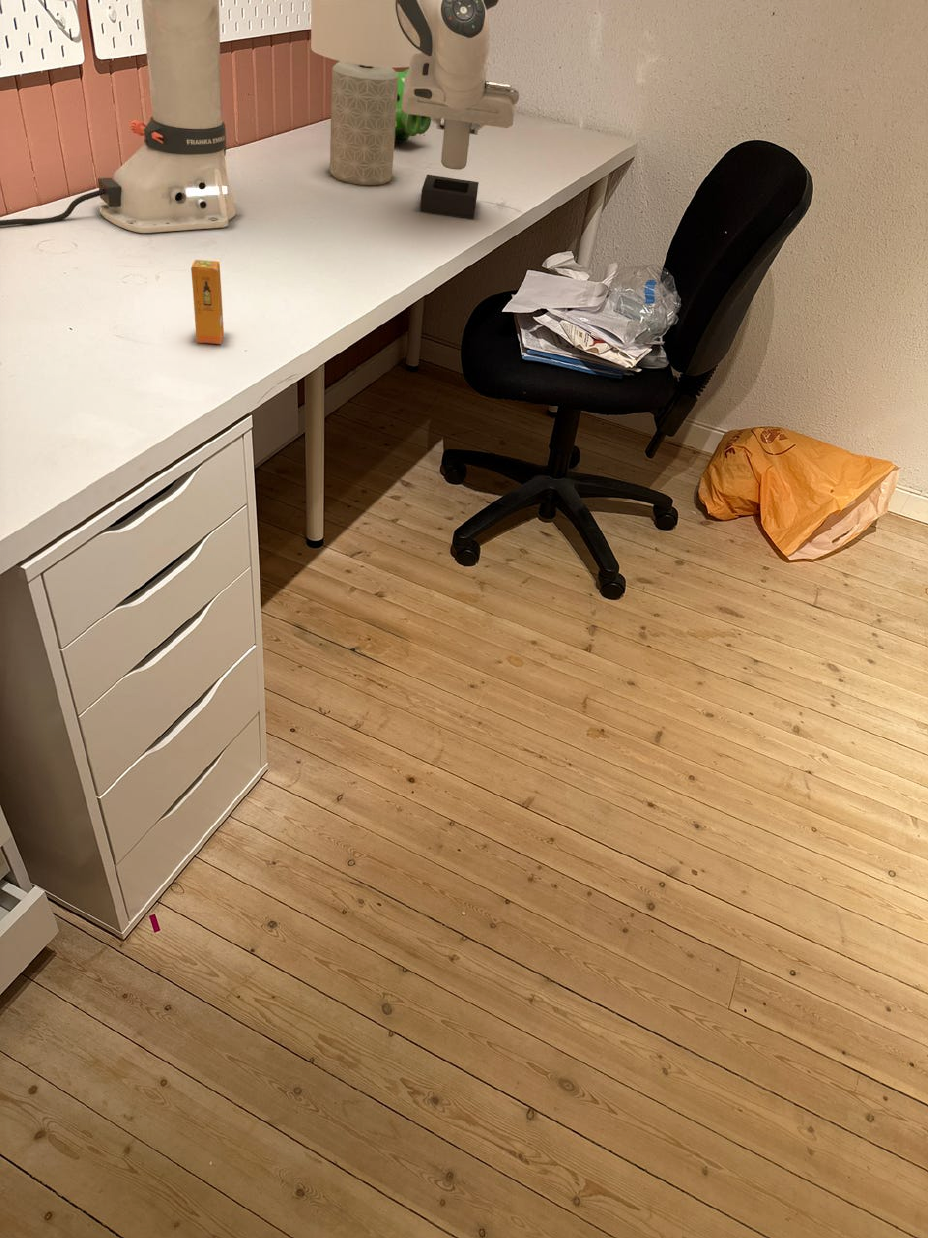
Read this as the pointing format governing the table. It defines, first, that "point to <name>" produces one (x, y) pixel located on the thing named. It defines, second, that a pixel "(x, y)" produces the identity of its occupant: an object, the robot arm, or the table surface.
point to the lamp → (361, 83)
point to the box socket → (449, 196)
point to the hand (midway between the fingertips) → (457, 128)
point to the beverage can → (455, 144)
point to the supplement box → (207, 301)
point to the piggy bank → (408, 117)
